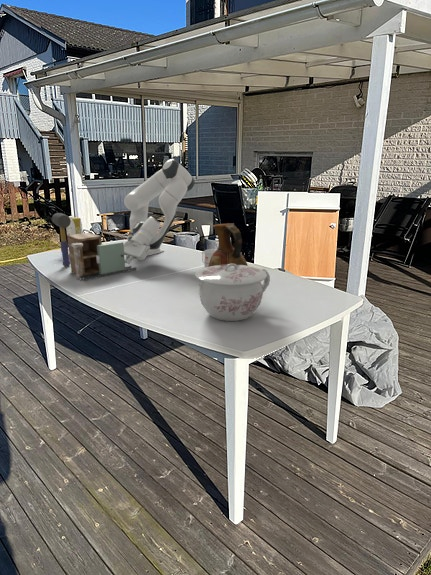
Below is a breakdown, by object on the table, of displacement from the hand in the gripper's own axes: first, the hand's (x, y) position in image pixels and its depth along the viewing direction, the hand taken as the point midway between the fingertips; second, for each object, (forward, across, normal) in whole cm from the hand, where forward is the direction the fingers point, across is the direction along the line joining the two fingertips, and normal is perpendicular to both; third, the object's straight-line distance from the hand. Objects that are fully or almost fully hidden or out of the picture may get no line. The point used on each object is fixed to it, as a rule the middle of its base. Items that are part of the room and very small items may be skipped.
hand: (126, 263), depth 217 cm
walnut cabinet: (+16, +10, +10) cm, 22 cm away
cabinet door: (+9, +2, +2) cm, 9 cm away
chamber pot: (+7, -84, 0) cm, 84 cm away
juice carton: (+3, +60, -3) cm, 60 cm away
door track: (+10, +2, +4) cm, 11 cm away
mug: (-20, -30, -28) cm, 46 cm away
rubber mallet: (+17, +32, +10) cm, 38 cm away
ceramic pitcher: (-12, -56, -19) cm, 60 cm away
